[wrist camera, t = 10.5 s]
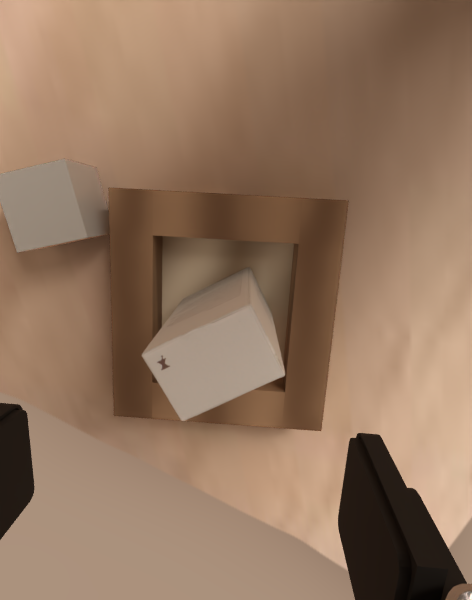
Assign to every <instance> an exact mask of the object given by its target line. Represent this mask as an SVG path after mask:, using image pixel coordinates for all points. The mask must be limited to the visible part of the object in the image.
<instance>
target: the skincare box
mask: <svg viewBox="0 0 472 600" xmlns="http://www.w3.org/2000/svg"><path fill="white" fill-rule="evenodd" d="M142 357H143V359H144V361H145V362H146V364H147V365H148V367H149V369H150V370H151V372H152V373H153V375H154V377H155V378H156V380H157V382H158V383H159V385H160V386H161V388H162V390H163V391H164V393H165V395H166V396H167V398H168V400H169V402H170V403H171V405H172V407H173V408H174V410H175V411H176V413H177V415H178V416H179V418H180V420H181V421H185V420H187V419H190V418H192V417H194V416H197V415H199V414H201V413H203V412H206V411H208V410H210V409H212V408H215V407H217V406H219V405H221V404H223V403H226V402H228V401H230V400H232V399H234V398H237V397H239V396H241V395H243V394H245V393H247V392H250V391H252V390H254V389H256V388H258V387H261V386H263V385H265V384H267V383H270V382H272V381H274V380H276V379H279V378H281V377H284V376H285V369H284V365H283V361H282V357H281V352H280V347H279V343H278V339H277V334H276V330H275V325H274V321H273V316H272V312H271V310H270V308H269V306H268V304H267V302H266V300H265V297H264V295H263V293H262V291H261V289H260V287H259V285H258V282H257V280H256V278H255V276H254V274H253V272H252V270H251V268H250V267H248V268H245V269H243V270H241V271H239V272H237V273H235V274H233V275H231V276H229V277H227V278H225V279H223V280H221V281H219V282H217V283H214V284H212V285H210V286H208V287H206V288H204V289H202V290H200V291H198V292H196V293H194V294H192V295H190V296H188V297H186V298H184V299H183V300H182V301H181V302H180V304H179V305H178V306H177V308H176V309H175V310H174V312H173V313H172V314H171V316H170V317H169V319H168V320H167V321H166V322H165V324H164V325H163V326H162V328H161V329H160V330H159V332H158V333H157V334H156V336H155V337H154V338H153V340H152V341H151V342H150V343H149V345H148V346H147V348H146V349H145V350H144V352H143V353H142Z"/></svg>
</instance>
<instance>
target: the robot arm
mask: <svg viewBox="0 0 472 600" xmlns="http://www.w3.org/2000/svg"><path fill="white" fill-rule="evenodd" d="M33 493H34V479H33V468H32V458H31V448H30V439H29V428H28V418H27V413H26V411H24V410H22V407H21V406H20V405H18V404H6V403H0V539H1V538H2V537H3V536H4V534H5V533H6V532H7V530H8V529H9V528H10V527H11V525H12V524H13V523H14V521H15V520H16V519H17V517H18V516H19V515H20V514H21V512H22V511H23V510H24V508H25V507H26V506H27V505H28V503H29V502H30V500H31V498H32V496H33ZM338 527H339V533H340V537H341V542H342V546H343V550H344V554H345V559H346V563H347V567H348V571H349V575H350V580H351V584H352V588H353V592H354V597H355V600H472V584H467V582H466V581H465V579H464V577H463V575H462V573H461V571H460V570H459V568H458V566H457V564H456V562H455V560H454V558H453V557H452V555H451V553H450V551H449V549H448V547H447V545H446V544H445V542H444V540H443V538H442V536H441V534H440V532H439V531H438V529H437V527H436V525H435V523H434V521H433V520H432V518H431V516H430V514H429V512H428V510H427V508H426V507H425V505H424V503H423V501H422V499H421V497H420V495H419V494H418V493H417V491H416V490H415V489H413V488H407V487H406V485H405V483H404V481H403V479H402V477H401V475H400V473H399V471H398V469H397V467H396V465H395V463H394V461H393V459H392V458H391V456H390V454H389V452H388V450H387V448H386V446H385V444H384V442H383V440H382V438H381V436H380V435H377V434H365V433H358V434H357V436H356V438H350V441H349V447H348V454H347V461H346V468H345V474H344V481H343V488H342V495H341V501H340V508H339V515H338Z"/></svg>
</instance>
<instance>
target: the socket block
mask: <svg viewBox="0 0 472 600" xmlns="http://www.w3.org/2000/svg"><path fill="white" fill-rule="evenodd" d="M348 202H349V201H346V200H328V199H309V198H291V197H272V196H254V195H235V194H217V193H198V192H180V191H161V190H142V189H124V188H109V230H110V272H111V314H112V356H113V398H114V416H125V417H139V418H152V419H166V420H179V421H181V420H180V418H179V416H178V415H177V413H176V411H175V410H174V408H173V407H172V405H171V403H170V402H169V400H168V398H167V396H166V395H165V393H164V391H163V390H162V388H161V386H160V385H159V383H158V382H157V380H156V378H155V377H154V375H153V373H152V372H151V370H150V369H149V367H148V365H147V364H146V362H145V361H144V359H143V357H142V353H143V352H144V350H145V349H146V348H147V346H148V345H149V343H150V342H151V341H152V340H153V338H154V337H155V336H156V334H157V333H158V332H159V330H160V329H161V328H162V326H163V325H164V324H165V322H166V321H167V320H168V319H169V317H170V316H171V314H172V313H173V312H174V310H175V309H176V308H177V306H178V305H179V304H180V302H181V301H182V300H183V299H184V298H186V297H188V296H190V295H192V294H194V293H196V292H198V291H200V290H202V289H204V288H206V287H208V286H210V285H212V284H214V283H217V282H219V281H221V280H223V279H225V278H227V277H229V276H231V275H233V274H235V273H237V272H239V271H241V270H243V269H245V268H248V267H250V268H251V270H252V272H253V274H254V276H255V278H256V280H257V282H258V285H259V287H260V289H261V291H262V293H263V295H264V297H265V300H266V302H267V304H268V306H269V308H270V310H271V312H272V316H273V321H274V325H275V330H276V334H277V339H278V343H279V347H280V352H281V357H282V361H283V365H284V369H285V376H284V377H281V378H279V379H276V380H274V381H272V382H270V383H267V384H265V385H263V386H261V387H258V388H256V389H254V390H252V391H250V392H247V393H245V394H243V395H241V396H239V397H237V398H234V399H232V400H230V401H228V402H226V403H223V404H221V405H219V406H217V407H215V408H212V409H210V410H208V411H206V412H203V413H201V414H199V415H197V416H194V417H192V418H190V419H187V420H185V421H193V422H206V423H219V424H233V425H246V426H260V427H273V428H287V429H300V430H314V431H321V429H322V420H323V412H324V403H325V395H326V387H327V378H328V370H329V362H330V353H331V345H332V336H333V328H334V320H335V311H336V303H337V294H338V286H339V278H340V269H341V261H342V253H343V244H344V236H345V227H346V219H347V211H348Z"/></svg>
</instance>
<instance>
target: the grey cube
mask: <svg viewBox="0 0 472 600" xmlns="http://www.w3.org/2000/svg"><path fill="white" fill-rule="evenodd" d="M0 203H1V206H2V209H3V212H4V215H5V218H6V221H7V224H8V227H9V230H10V233H11V236H12V239H13V241H14V244H15V247H16V250H17V253H18V252H24V251H30V250H35V249H41V248H47V247H52V246H58V245H62V244H67V243H72V242H76V241H81V240H86V239H90V238H95V237H100V236H104V235H109V234H110V230H109V211H108V207H107V203H106V200H105V196H104V193H103V189H102V185H101V182H100V178H99V174H98V171H97V167H93V166H89V165H86V164H82V163H79V162H75V161H71V160H68V159H61V160H57V161H53V162H49V163H44V164H40V165H36V166H32V167H27V168H23V169H19V170H15V171H10V172H6V173H2V174H0Z"/></svg>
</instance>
